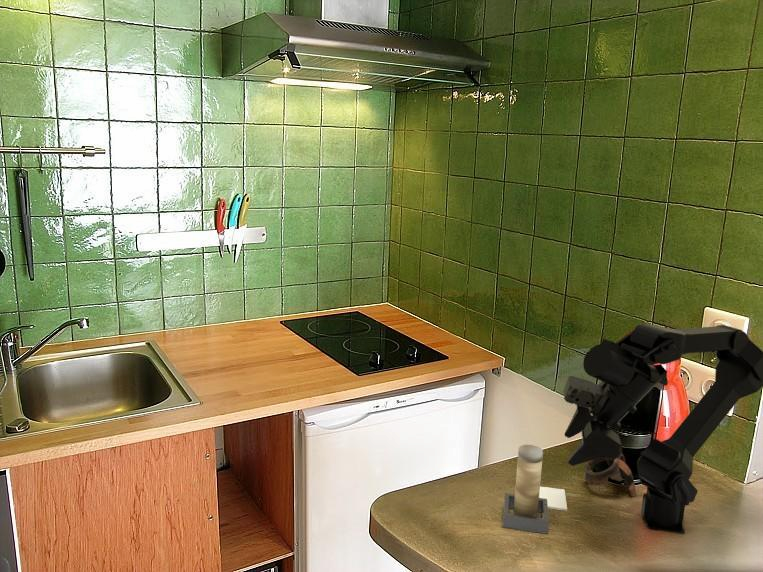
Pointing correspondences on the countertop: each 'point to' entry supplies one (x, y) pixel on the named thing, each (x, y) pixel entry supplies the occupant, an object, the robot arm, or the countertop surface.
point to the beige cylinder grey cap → (528, 480)
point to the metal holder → (525, 517)
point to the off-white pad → (554, 498)
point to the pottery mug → (611, 473)
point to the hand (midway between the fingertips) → (568, 449)
